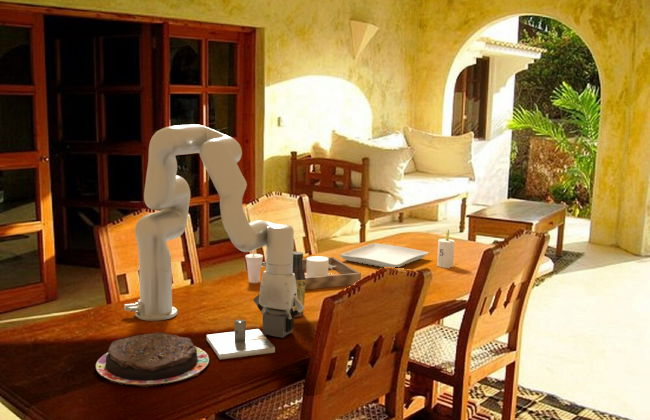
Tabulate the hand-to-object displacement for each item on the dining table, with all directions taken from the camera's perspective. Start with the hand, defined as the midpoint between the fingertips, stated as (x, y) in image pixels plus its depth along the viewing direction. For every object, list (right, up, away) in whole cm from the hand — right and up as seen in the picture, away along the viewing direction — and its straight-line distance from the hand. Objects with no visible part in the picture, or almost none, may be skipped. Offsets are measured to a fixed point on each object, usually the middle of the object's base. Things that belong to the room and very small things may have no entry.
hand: (277, 328), depth 202 cm
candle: (+62, +11, +82) cm, 103 cm away
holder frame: (+10, +9, +60) cm, 62 cm away
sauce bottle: (+4, +1, +18) cm, 18 cm away
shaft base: (-10, -3, -9) cm, 14 cm away
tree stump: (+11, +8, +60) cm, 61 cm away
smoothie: (-12, +8, +54) cm, 56 cm away
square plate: (+38, +13, +89) cm, 98 cm away
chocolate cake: (-30, -6, -23) cm, 38 cm away
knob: (0, -1, 0) cm, 1 cm away
